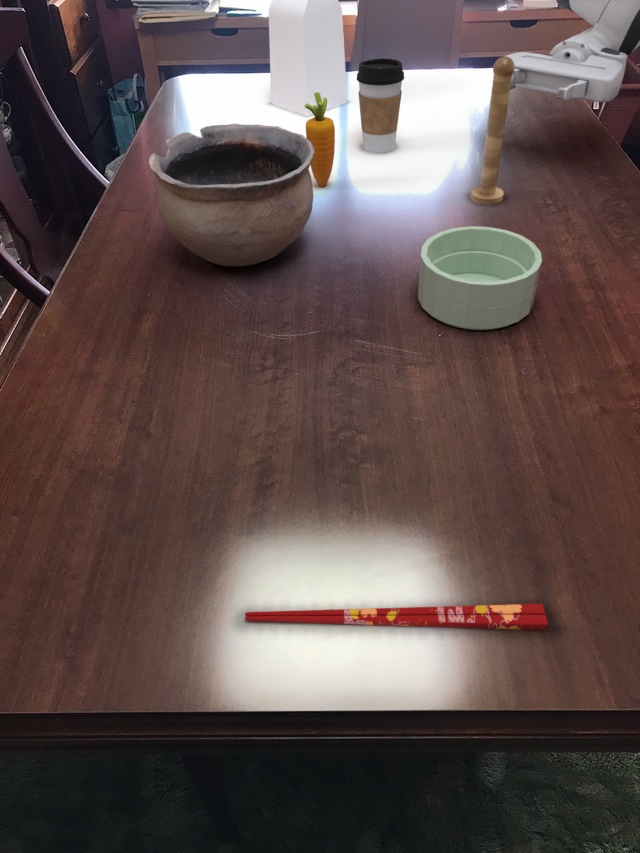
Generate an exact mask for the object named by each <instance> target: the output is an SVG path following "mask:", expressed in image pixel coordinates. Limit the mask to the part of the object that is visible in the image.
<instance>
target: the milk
mask: <svg viewBox="0 0 640 853" xmlns="http://www.w3.org/2000/svg"><path fill="white" fill-rule="evenodd" d="M343 18H344V17H343V8H342V5H341V3H340V1H339V0H271V2H270V5H269V8H268V34H269V35H268V36H269V38H268V40H269V71H270V72H269V73H270V74H269V75H270V104H271V105H273V106H276V107H279V108H282V109H285V110H288V111H291V112H294V113H296V114H299V115H303V116H305V117H311V116H314V114H313V113H312V112H311V111H310V110H309V109H307V108H305V104H310V105H312V106H314V105H316V106H317V107H318V105H317V102H316V99H315V95H314V94H315V93H316V92H319V93H320V96H321V100H322V103H323V99H324V98H326V99H327V106H326V111H328V110H330V109H333V108H335V107H339V106H341V105H344V104H347V103H348V91H347V89H348V88H347V72H346V55H345V54H346V53H345V38H344V19H343Z"/></svg>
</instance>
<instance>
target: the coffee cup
mask: <svg viewBox="0 0 640 853" xmlns="http://www.w3.org/2000/svg"><path fill="white" fill-rule="evenodd" d="M403 68H404V67H403V62H401V61H400V60H398V59H395V58H394V59H393V58H381V57H380V58H371V59H367V60H363V61H360V62H359V63H358V71H357V74H356V81H357V82H358V103H359V113H360V114H359V115H360V126H361V135H362V136H361V137H362V138H361V139H362V149H363V151H365V152H367V153H370V154H386V153H387V154H388V153H391V152H393V151H394V150H395V148H396V139H397V130H398V124H399V116H400V108H401V101H402V94H403V90H402V82H403V81H404V80H405V71H404V69H403Z"/></svg>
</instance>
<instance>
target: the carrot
mask: <svg viewBox="0 0 640 853" xmlns="http://www.w3.org/2000/svg"><path fill="white" fill-rule="evenodd" d="M314 95H315V99H316V102H317V105H318V107H317V106H316V105H314V106H312V105H310V104H305V108H307V109H309V110H310V111H311V112H312V113H313V117H312V118H309V119H308V120H307V121H306V122H305V138H306V139H307V140H308V141H310V142H311V143H312V146H313V148H314V151H315V152H314V156H313V159H312V162H311V164H310V169H311V172H312V175H313V178H314V180H315V182H316V184H317V186H318V187H320V188H325V187H326V186H327V184H328V182H329V180H330V177H331V174H332V170H333V165H334V160H335V147H336V145H335V144H336V129H335V123H334V120H333V119H332V118H330V117H328V116H325V114H326V111H327V110H326V106H327V99H326V98H324V99H323V103H322V100H321V96H320V93H319V92H316V93H315V94H314Z"/></svg>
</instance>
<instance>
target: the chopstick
mask: <svg viewBox="0 0 640 853" xmlns="http://www.w3.org/2000/svg"><path fill="white" fill-rule="evenodd" d="M244 616H245V617H244V620H245V621H248V622H274V623H275V622H276V623H306V624H310V623H311V624H333V625H334V624H336V625H337V624H338V625H339V624H340V625H366V626H367V625H369V626H370V625H371V626H396V627H397V626H400V627H403V626H404V627H427V628H429V627H431V628H432V627H433V628H459V629H463V628H464V629H465V628H466V629H492V630H493V629H495V630H526V631H527V630H528V631H546V630H547V628H548V625H549V623H548V618H547V616H546V611H545V607H544V604H543V603H519V604H517V603H515V604H485V605H484V604H483V605H482V604H481V605H478V604H477V605H449V606H448V605H447V606H444V605H443V606H415V607H414V606H413V607H411V606H410V607H408V606H407V607H381V608H380V607H378V608H376V607H375V608H342V609H338V608H337V609H308V610H307V609H306V610H305V609H304V610H273V611H272V610H271V611H270V610H269V611H268V610H267V611H246V612H245V613H244Z"/></svg>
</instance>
